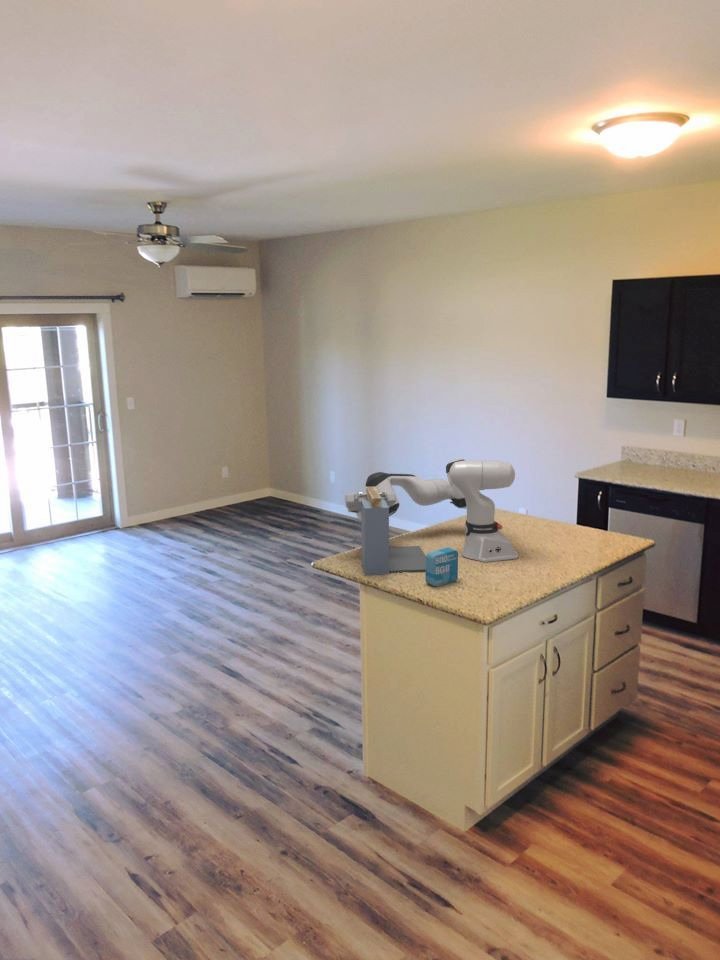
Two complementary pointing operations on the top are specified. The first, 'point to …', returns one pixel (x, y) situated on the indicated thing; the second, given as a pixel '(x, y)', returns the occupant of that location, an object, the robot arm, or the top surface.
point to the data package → (441, 566)
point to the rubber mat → (406, 559)
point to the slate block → (375, 538)
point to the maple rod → (373, 497)
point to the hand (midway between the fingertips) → (372, 493)
